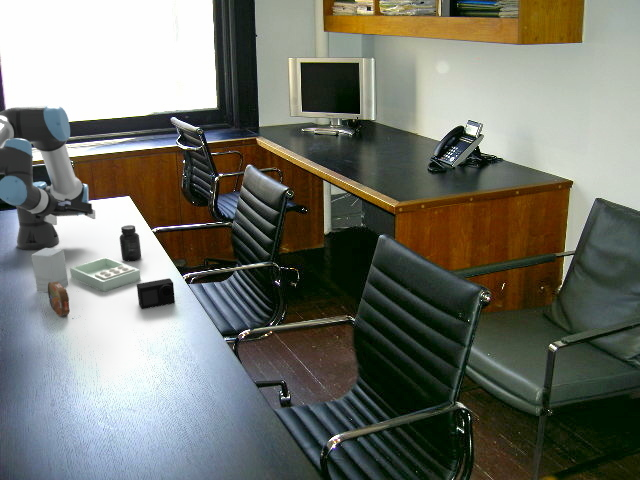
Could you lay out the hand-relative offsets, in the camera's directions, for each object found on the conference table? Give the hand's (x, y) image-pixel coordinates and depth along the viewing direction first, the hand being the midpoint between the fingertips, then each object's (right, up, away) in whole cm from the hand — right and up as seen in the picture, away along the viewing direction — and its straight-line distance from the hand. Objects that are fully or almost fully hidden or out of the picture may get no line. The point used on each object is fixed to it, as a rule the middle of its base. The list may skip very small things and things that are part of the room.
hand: (75, 217), depth 254 cm
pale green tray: (+7, -20, +10) cm, 23 cm away
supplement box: (-8, -23, +3) cm, 24 cm away
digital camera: (+29, -27, -13) cm, 42 cm away
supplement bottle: (+12, -14, +28) cm, 33 cm away
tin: (0, -29, -15) cm, 33 cm away
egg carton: (+12, -21, +6) cm, 25 cm away
